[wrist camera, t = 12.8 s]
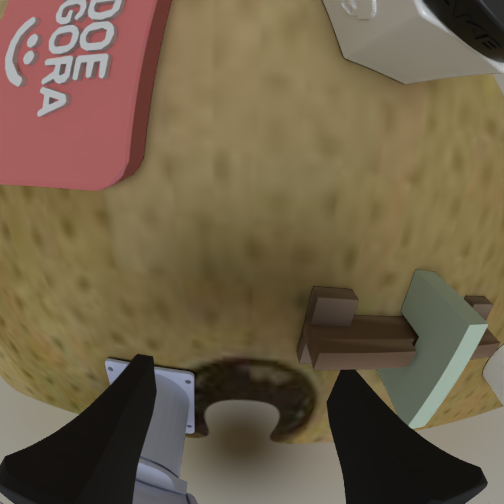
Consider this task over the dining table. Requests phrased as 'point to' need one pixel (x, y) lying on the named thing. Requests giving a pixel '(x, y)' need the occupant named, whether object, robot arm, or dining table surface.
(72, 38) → the plaque
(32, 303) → the dining table surface
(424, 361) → the slotted plate
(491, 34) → the jar
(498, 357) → the bottle
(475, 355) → the walnut stand
